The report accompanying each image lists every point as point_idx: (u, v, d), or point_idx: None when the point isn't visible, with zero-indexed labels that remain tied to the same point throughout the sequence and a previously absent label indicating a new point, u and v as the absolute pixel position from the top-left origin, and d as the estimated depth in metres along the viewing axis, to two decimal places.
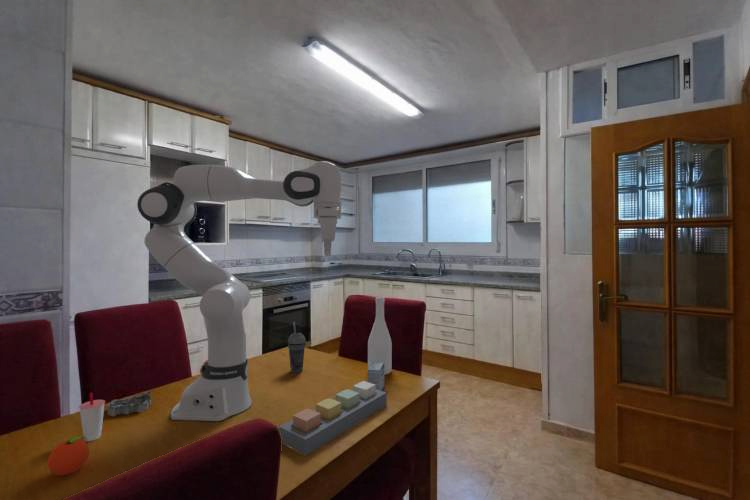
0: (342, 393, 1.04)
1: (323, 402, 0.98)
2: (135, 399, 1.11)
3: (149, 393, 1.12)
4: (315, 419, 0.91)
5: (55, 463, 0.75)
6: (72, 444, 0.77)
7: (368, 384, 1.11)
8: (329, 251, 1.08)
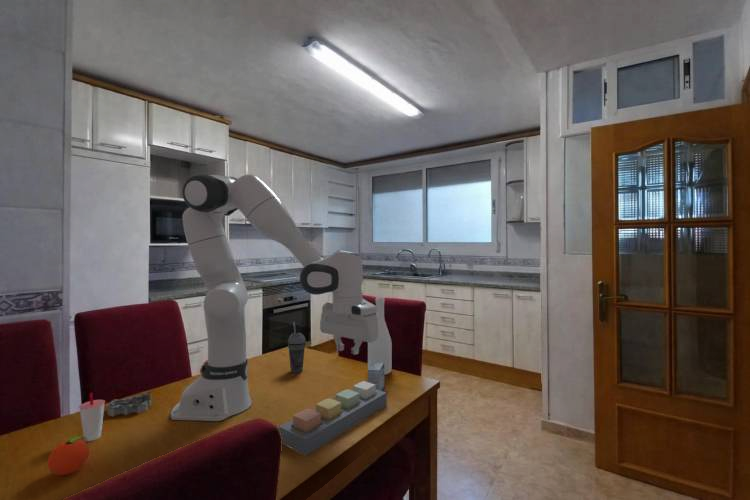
0: (342, 393, 1.04)
1: (323, 402, 0.98)
2: (135, 399, 1.11)
3: (149, 394, 1.12)
4: (315, 419, 0.91)
5: (55, 463, 0.75)
6: (72, 444, 0.77)
7: (368, 384, 1.11)
8: (358, 348, 1.02)
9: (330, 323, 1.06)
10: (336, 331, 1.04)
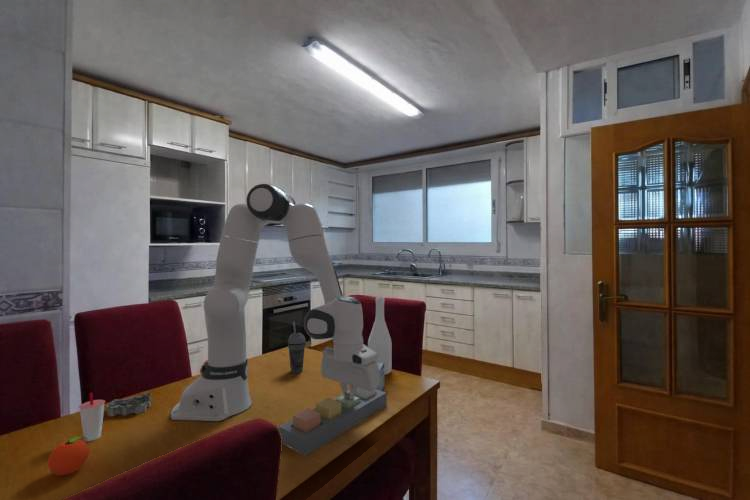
0: (342, 398, 1.04)
1: (323, 402, 0.98)
2: (135, 400, 1.10)
3: (149, 394, 1.11)
4: (315, 419, 0.91)
5: (55, 463, 0.75)
6: (72, 444, 0.77)
7: None
8: (353, 393, 1.04)
9: (331, 369, 1.06)
10: (337, 377, 1.05)
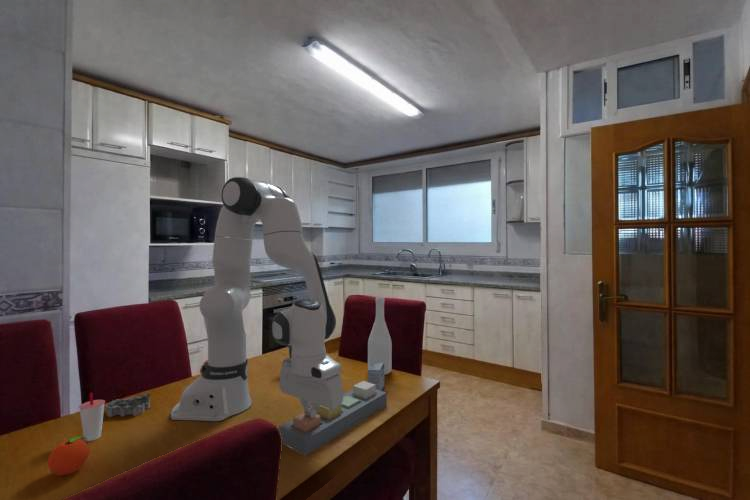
0: None
1: None
2: (136, 400, 1.10)
3: (149, 395, 1.10)
4: (315, 422, 0.91)
5: (55, 463, 0.75)
6: (72, 444, 0.77)
7: (368, 384, 1.11)
8: (315, 410, 0.91)
9: (290, 383, 0.93)
10: (296, 392, 0.92)
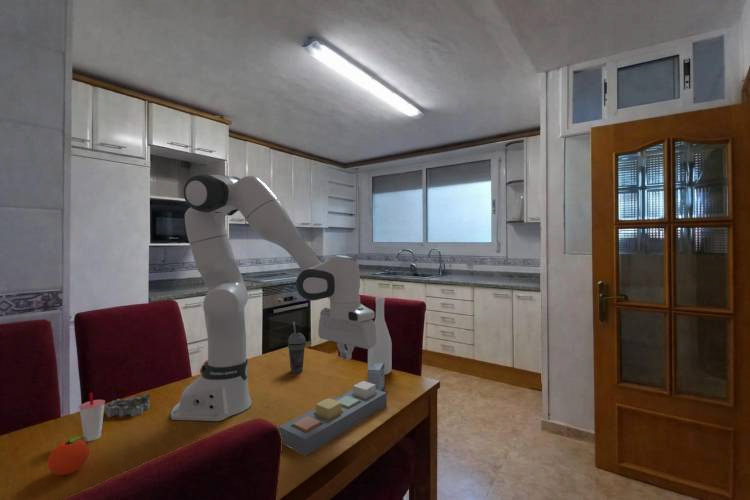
0: (342, 400, 1.04)
1: (323, 402, 0.98)
2: (136, 401, 1.10)
3: (148, 396, 1.10)
4: None
5: (55, 463, 0.75)
6: (72, 444, 0.77)
7: (368, 384, 1.11)
8: (350, 353, 1.02)
9: (328, 329, 1.04)
10: (334, 337, 1.03)
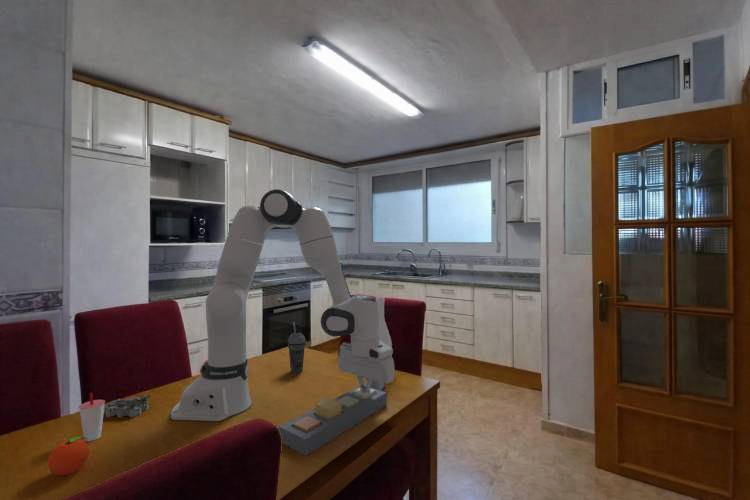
0: (342, 400, 1.04)
1: (323, 402, 0.98)
2: (136, 401, 1.09)
3: (148, 397, 1.09)
4: None
5: (55, 463, 0.75)
6: (72, 444, 0.77)
7: None
8: (369, 386, 1.10)
9: (348, 363, 1.13)
10: (354, 370, 1.11)
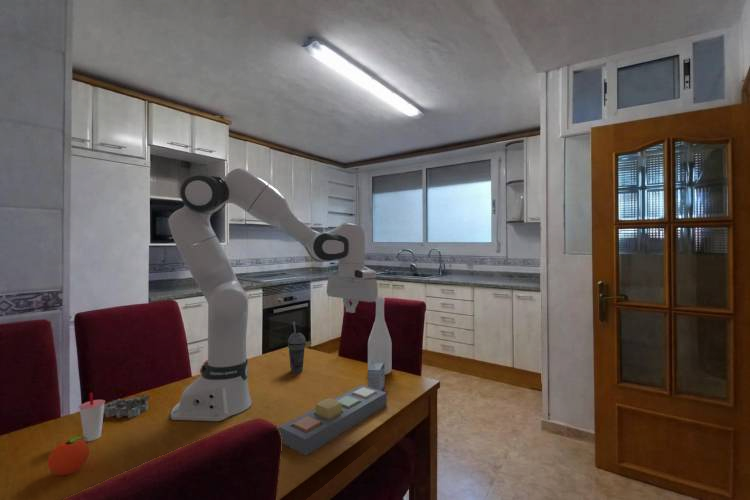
0: (342, 400, 1.04)
1: (323, 402, 0.98)
2: (135, 402, 1.09)
3: (147, 398, 1.09)
4: None
5: (55, 463, 0.75)
6: (72, 444, 0.78)
7: (368, 390, 1.11)
8: (354, 308, 1.19)
9: (335, 287, 1.21)
10: (340, 294, 1.19)
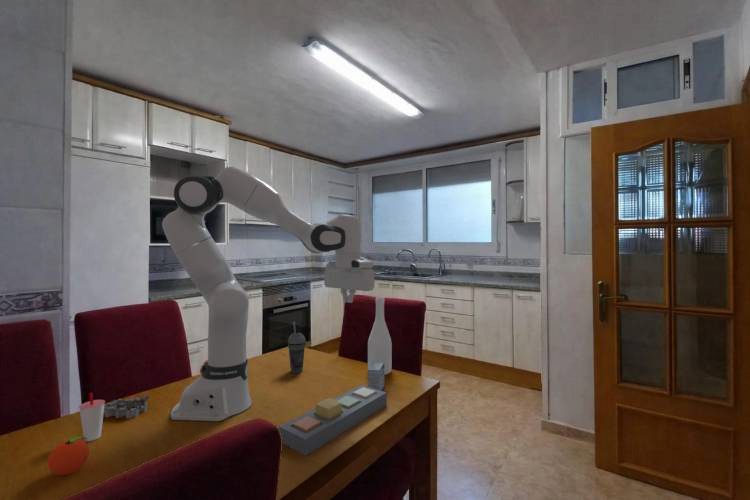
0: (342, 400, 1.04)
1: (323, 402, 0.98)
2: (135, 402, 1.09)
3: (146, 398, 1.08)
4: None
5: (55, 463, 0.75)
6: (72, 444, 0.78)
7: (368, 390, 1.11)
8: (352, 298, 1.21)
9: (333, 278, 1.23)
10: (338, 284, 1.21)
